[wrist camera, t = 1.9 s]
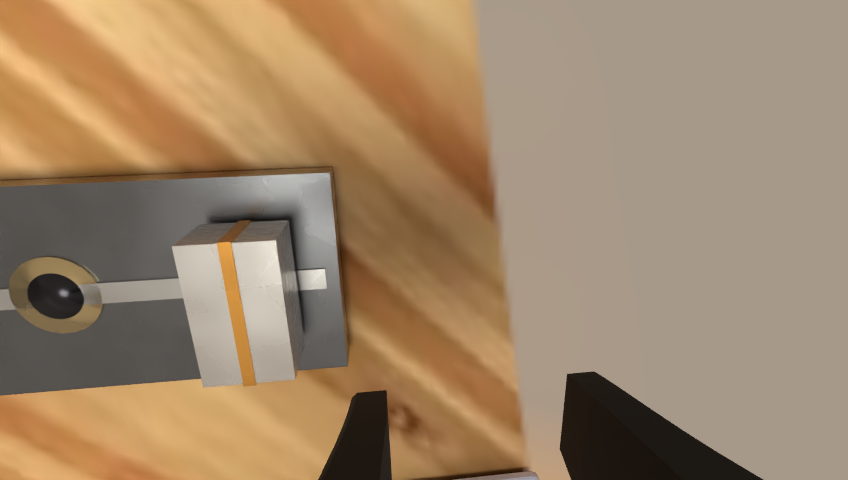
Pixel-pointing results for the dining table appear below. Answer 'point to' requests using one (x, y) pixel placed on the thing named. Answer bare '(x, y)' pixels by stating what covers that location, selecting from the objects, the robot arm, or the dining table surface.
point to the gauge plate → (145, 272)
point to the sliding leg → (241, 301)
